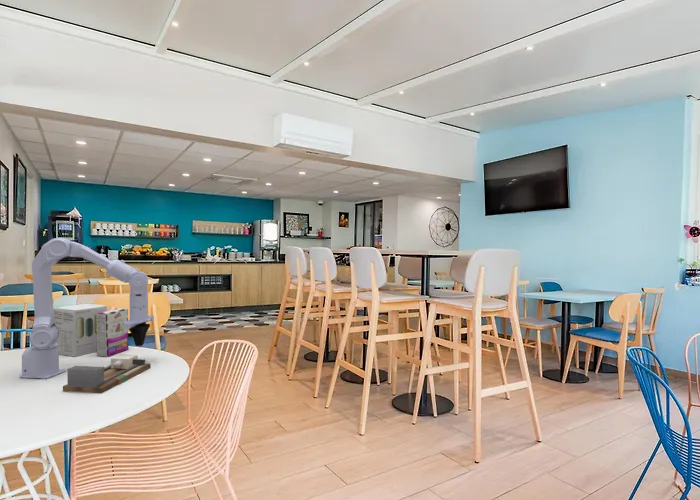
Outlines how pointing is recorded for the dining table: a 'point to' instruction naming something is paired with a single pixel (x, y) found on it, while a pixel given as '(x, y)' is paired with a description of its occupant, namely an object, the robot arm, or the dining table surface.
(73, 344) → the supplement box
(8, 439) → the dining table surface
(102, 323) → the candy bar box
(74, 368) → the dark grey block
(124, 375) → the base
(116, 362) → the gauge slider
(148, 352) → the dining table surface
